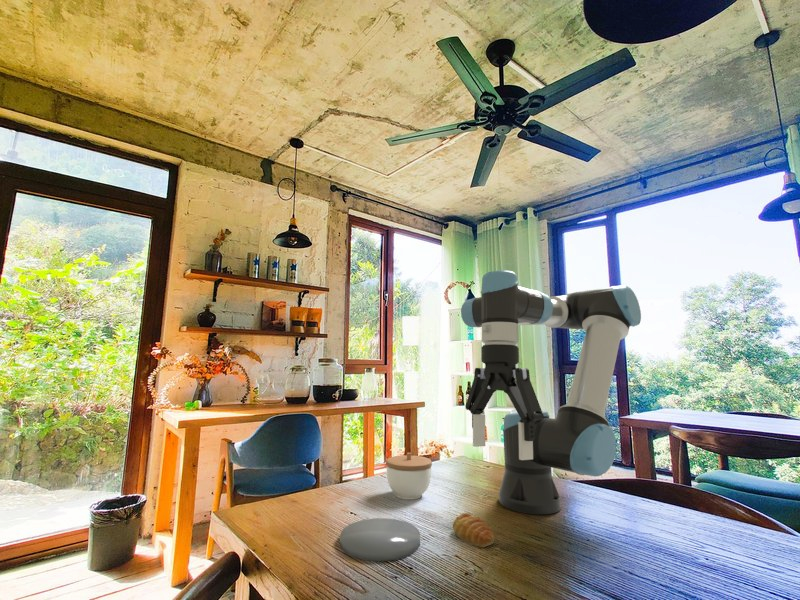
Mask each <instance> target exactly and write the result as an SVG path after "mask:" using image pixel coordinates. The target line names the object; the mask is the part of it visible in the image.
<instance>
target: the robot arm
mask: <svg viewBox="0 0 800 600" xmlns="http://www.w3.org/2000/svg"><path fill="white" fill-rule="evenodd" d="M480 289H481V290H480V294H481V295H480V296H481V297H473V298H470V299H467V300H465V301H464V302H463V303H462V306H461V309H460V315H461V316H460V317H461V320H462V321H463V323H464V324H465V326H468V327H470V328H481V342H482V343H483V345H482V346H481V348H480V349H481V353H480V354H481V359H480V360H481V363H483V364H484V367H475V368H474V373H473V374H474V376H473V380H472V385H471V386H470V390H469V394H468V397H467V399H466V403H465V407H464V408H465V410H466V411H470V413H471V428H472V447H476V448H478V447H486V414H485V409H486V407H487V405H488V403H489V402H490V400H491V398H492V397H493V395H494V393H495V392H497V391H501V392H504V393H505V394H507V396H508V398H509V400H510V402H511V404H512V406H513V407H514V408H515V410H516V412H511V413H507V414H506V415H505V416H504V417H503V429H502V432H503V434H502V435H503V450H504V451H503V453H504V454H503V455H504V473H503V477H502V480H501V483H500V487H499V490H498V491H499V492H498V502H499V504H500V505H501V506H503V507H504V508H506V509H509V510H510V511H515V512H518V513H522V514H528V515H550V514H551V515H552V514H556V513H557V512H559V511H560V510H562V509H561V508H562V507H561V506H562V505H561V498H560V494H559V491H558V489H557V486H556V483H555V481H554V478H553V474H552V468H553V469H557V470H562V471H565V472H570V473H575V474H576V475H579V476H590V477H600V476H602V475H603V474H606V473H607V472H608V471H609V470H610V469H611V467H612V466H613V463H614V461H615V457H616V453H617V445H616V442H617V439H616V434H615V432H614V431H613V429H612V428H611V427H610V423H609V420H608V419H607V418H606V417H605V413H606V408H607V404H608V399H609V393H610V389H611V385H612V380H613V376H614V370H615V366H616V361H617V356H618V353H619V352H618V351H619V348H620V342H621V340H623V339H625V338H626V337H628V335H629V330H630V327H632V328H634V327H636V326H639V325H640V323H641V321H642V313H641V306H640V304H639V300H638V298H637V295H636V294H635V292H634V291H633V289H631V287H629V286H627V285H612V286H609V287H603V288H602V287H601V288H597V289H587V290H583V291H575V292H571V293H567V294H562V295H561V294H560V295H553V296H548V295H547V294H545V292H544V293H543V292H541V291H539V290H536V289H530V288H528V287H527V288H526V287H523V286H520V285H519V281H518V275H517V274H516V273H515V272H514V271H512V270H504V269H503V270H502V269H501V270H491V271H488V272H486V273H484V274H483V276H482V277H481V288H480ZM540 325H541V326H546V327H548V328H555V329H567V330H568V329H569V330H584V331H585V334H584V338H583V342H582V344H581V345H582V346H581V350H580V353H579V358H578V361H577V365H576V368H575V372H574V376H573V380H572V383H571V384H572V385H571V387H570V391H569V396H568V399H567V402H566V404H564V405H561V406H560V407H559V408H558V410H557V414H556V417H555V418H551V417H550V415H549V412H548V411H543V410H542V408H541V405H540V402H539V400H538V398H537V394H536V393H535V389H534V387H533V384H532V381H531V378H530V370H529V369H528V367H527V368H526V367H525V368H523V367H517V365H518V364H519V363H520V355H519V353H520V352H519V350H520V349H519V346H517V344H519V343H520V341H519V326H540Z"/></svg>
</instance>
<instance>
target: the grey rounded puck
mask: <svg viewBox="0 0 800 600" xmlns="http://www.w3.org/2000/svg"><path fill="white" fill-rule="evenodd" d="M339 546H340V548H341V550H342V552H343V553H345V554H347V555H348V556H351V557H353V558H355V559H359V560H363V561H368V562H369V561H370V562H390V561H396V560H401V559H403V558H406V557H409V556H412V555H413V554H414V553H416V552H417V550H419V548H420V546H421V532H420V530H419V528H418V527H416V526H415V525H413V524H412V523H409V522H407V521H405V520H404V521H403V520H400V519H395V518H386V517H385V518H382V517H379V518H368V519H362V520H357V521H355V522H352V523H350V524H348V525H346V526H345V527H344V528H342V530H341V532H340V535H339Z"/></svg>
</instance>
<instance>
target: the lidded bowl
mask: <svg viewBox="0 0 800 600" xmlns="http://www.w3.org/2000/svg"><path fill="white" fill-rule="evenodd" d="M385 463H386V478H387V483H388V487H390V490H391V491H392V492H393V493H394V494H395V497H396V498H398V499H402V500H410V501H411V500H416V499H420V498H422V497H423V494H424V493H425V492H426V491H427V490H428V488H429V485H430V483H431V480H432V479H431V478H432V465H433V462H432V460H431V459H430V458H429V457H427V456H421V455H412V452H406V455H404V454H403V455H402V454H401V455H396V456H395V455H394V456H392V457H391V456H390V457H389V458H387V459H386V460H385Z"/></svg>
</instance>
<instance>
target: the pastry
mask: <svg viewBox="0 0 800 600" xmlns="http://www.w3.org/2000/svg"><path fill="white" fill-rule="evenodd" d="M452 530H453V533H454V535H455V536H457V537H458V539H460V540H461V541H464V542H465V543H467V544H470V545H472V546H475V547H480V548H484V547H487V546H492V545H493V544H494V541H495V539H496V537H495V535H494V534H493V530H492V528H490V526H489V524H487V523H486V522H485V520H484V519H481V518H480V517H479V516H476V515H475V516H473V515H472V514H470V513H467V512H465V513H464V512H463V513H461V514H460V515H458V516H457V517H455V519H454V522H453V524H452Z"/></svg>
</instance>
